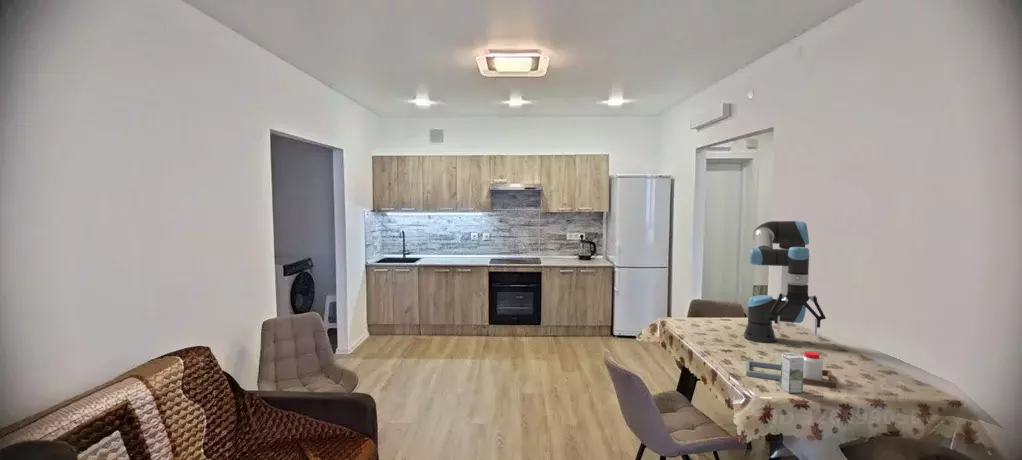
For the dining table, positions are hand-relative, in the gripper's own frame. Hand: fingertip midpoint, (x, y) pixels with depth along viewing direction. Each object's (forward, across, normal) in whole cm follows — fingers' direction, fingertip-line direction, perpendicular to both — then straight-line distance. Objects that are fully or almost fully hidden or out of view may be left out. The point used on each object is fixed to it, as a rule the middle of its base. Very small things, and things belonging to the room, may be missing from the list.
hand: (796, 333), depth 205 cm
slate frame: (+19, -11, 0) cm, 22 cm away
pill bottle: (+19, +6, 0) cm, 20 cm away
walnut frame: (+19, +6, 0) cm, 20 cm away
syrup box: (+19, -2, -18) cm, 26 cm away
